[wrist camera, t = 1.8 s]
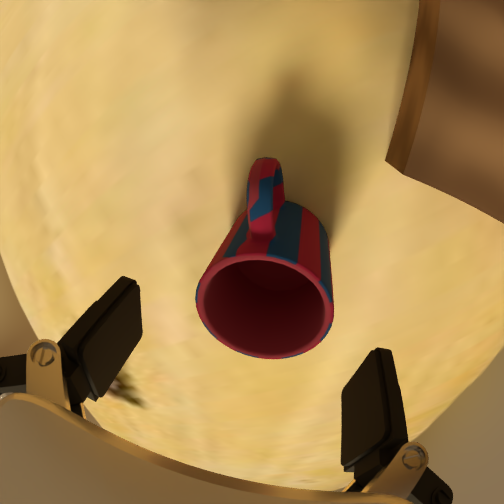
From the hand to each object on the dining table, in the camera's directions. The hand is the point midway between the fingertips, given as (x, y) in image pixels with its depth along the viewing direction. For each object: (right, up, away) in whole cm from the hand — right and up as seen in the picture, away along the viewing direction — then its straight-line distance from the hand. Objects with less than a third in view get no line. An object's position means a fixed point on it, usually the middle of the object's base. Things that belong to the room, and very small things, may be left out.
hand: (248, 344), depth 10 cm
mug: (+2, +5, +8) cm, 10 cm away
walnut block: (+16, +13, +1) cm, 21 cm away
